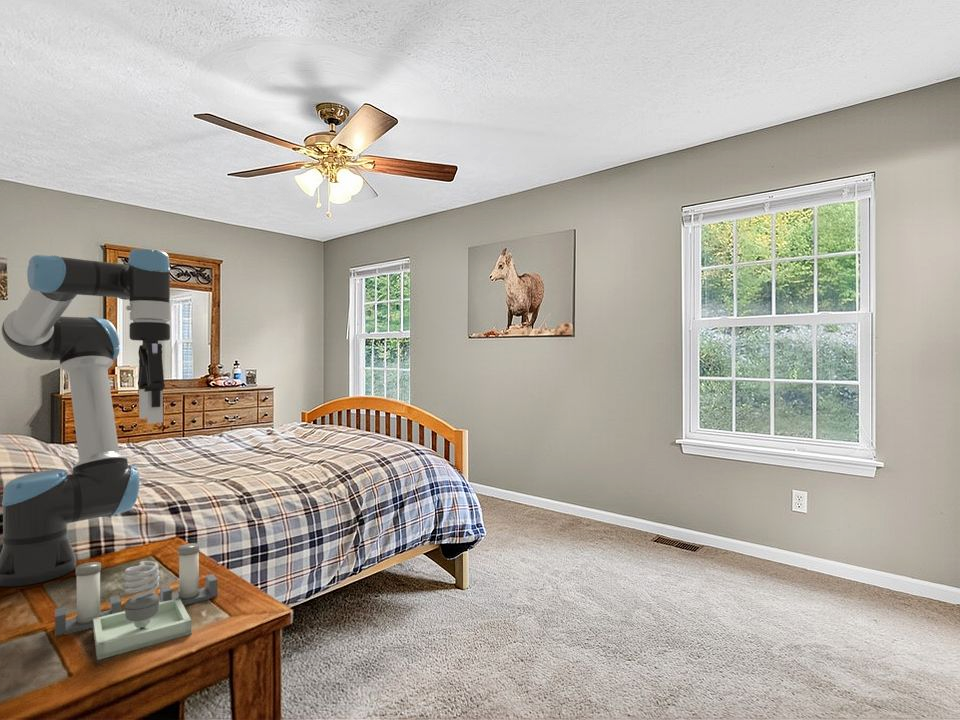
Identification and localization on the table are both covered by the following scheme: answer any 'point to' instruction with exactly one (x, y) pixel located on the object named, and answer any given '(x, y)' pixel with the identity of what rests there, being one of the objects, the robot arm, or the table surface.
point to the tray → (123, 636)
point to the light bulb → (146, 602)
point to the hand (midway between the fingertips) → (150, 420)
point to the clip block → (115, 606)
